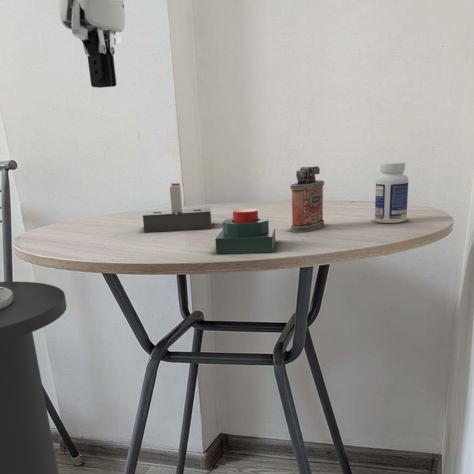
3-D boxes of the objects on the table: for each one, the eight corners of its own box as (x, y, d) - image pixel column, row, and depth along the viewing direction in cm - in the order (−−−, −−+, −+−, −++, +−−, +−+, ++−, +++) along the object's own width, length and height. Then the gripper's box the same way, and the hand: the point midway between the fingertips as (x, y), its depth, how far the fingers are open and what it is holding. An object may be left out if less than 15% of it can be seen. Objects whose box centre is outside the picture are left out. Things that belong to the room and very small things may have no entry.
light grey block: (181, 212, 104) (179, 184, 102) (171, 212, 104) (169, 185, 102) (182, 209, 108) (180, 182, 106) (173, 209, 108) (170, 183, 106)
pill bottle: (409, 219, 103) (412, 161, 99) (403, 223, 98) (406, 163, 95) (378, 218, 105) (380, 162, 102) (371, 223, 101) (373, 164, 97)
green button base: (216, 254, 83) (214, 225, 81) (223, 243, 90) (222, 217, 89) (272, 252, 82) (271, 223, 80) (275, 241, 89) (274, 215, 88)
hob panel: (211, 229, 103) (210, 211, 102) (143, 233, 103) (141, 215, 101) (211, 222, 111) (210, 205, 110) (148, 226, 111) (146, 209, 110)
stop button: (232, 225, 83) (231, 212, 82) (234, 221, 86) (234, 209, 86) (257, 224, 83) (256, 211, 82) (259, 220, 86) (258, 208, 85)
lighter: (304, 232, 95) (303, 168, 92) (286, 231, 97) (285, 168, 94) (328, 224, 101) (328, 164, 98) (311, 223, 103) (311, 164, 100)
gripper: (92, -48, 84) (108, 90, 91) (25, -78, 71) (49, 86, 78) (138, -56, 82) (151, 87, 88) (77, -89, 69) (98, 82, 75)
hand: (104, 86), depth 83 cm, fingers closed
